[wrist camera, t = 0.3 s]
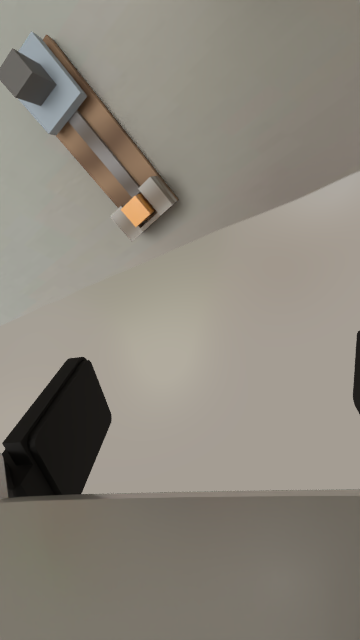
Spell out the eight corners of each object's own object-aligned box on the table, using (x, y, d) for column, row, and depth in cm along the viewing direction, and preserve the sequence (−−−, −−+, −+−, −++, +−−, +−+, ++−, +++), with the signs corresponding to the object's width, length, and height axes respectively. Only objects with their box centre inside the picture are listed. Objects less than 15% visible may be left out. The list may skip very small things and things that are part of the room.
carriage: (11, 83, 36) (-32, 65, 29) (41, 38, 33) (1, 9, 27) (56, 135, 38) (24, 129, 31) (87, 96, 35) (59, 81, 29)
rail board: (18, 90, 38) (-17, 76, 33) (52, 39, 36) (21, 14, 30) (141, 233, 45) (130, 243, 39) (178, 199, 42) (172, 204, 36)
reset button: (129, 205, 39) (120, 209, 35) (142, 192, 38) (134, 195, 34) (142, 222, 39) (135, 227, 36) (156, 209, 38) (150, 213, 35)
